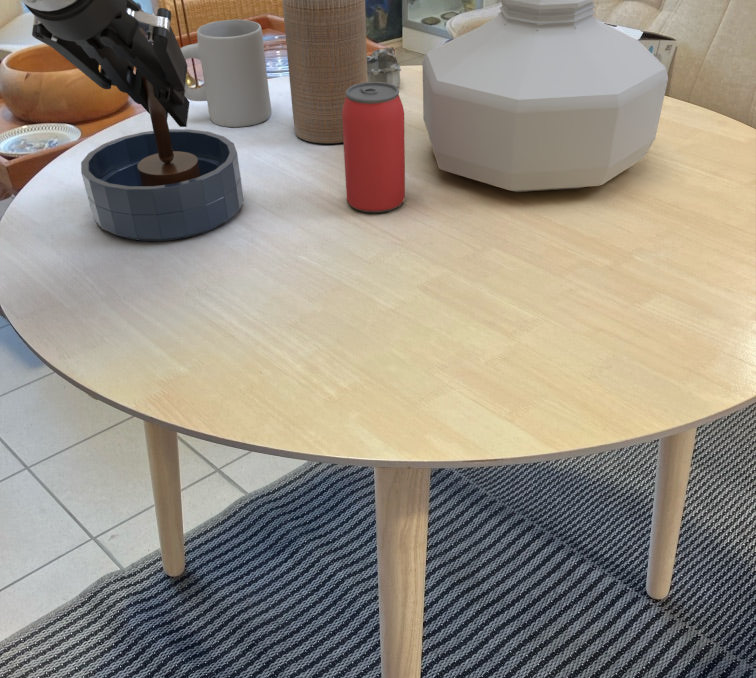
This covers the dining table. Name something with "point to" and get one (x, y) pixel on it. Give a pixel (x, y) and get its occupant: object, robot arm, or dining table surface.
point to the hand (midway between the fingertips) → (174, 113)
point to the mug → (231, 72)
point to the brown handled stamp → (164, 149)
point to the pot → (542, 98)
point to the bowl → (162, 187)
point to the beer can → (374, 147)
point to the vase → (323, 63)
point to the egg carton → (383, 67)
